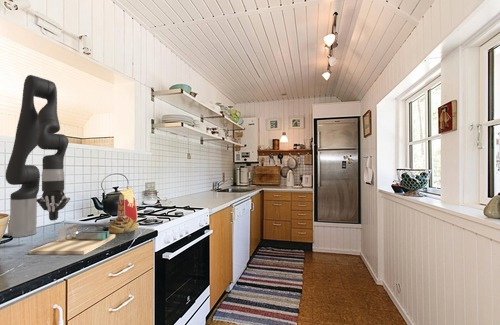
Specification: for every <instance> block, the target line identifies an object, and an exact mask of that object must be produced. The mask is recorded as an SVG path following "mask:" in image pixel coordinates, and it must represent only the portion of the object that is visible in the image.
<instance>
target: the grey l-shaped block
mask: <svg viewBox="0 0 500 325" xmlns="http://www.w3.org/2000/svg"><path fill="white" fill-rule="evenodd" d="M57 231H58V232H57V233H58V234H57V240H58V241H66V240H67V236H68V231H69V235H70V236H72V232H74V231H79V224H78V223H74V224H73V223H70V224H67V225H64V226H61V227H58V230H57Z"/></svg>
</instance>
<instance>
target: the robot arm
mask: <svg viewBox="0 0 500 325" xmlns="http://www.w3.org/2000/svg"><path fill="white" fill-rule="evenodd" d="M22 89H23V90H22V100H21V106H20V107H21V108H20V113H19V118H18V121H17V126H16V131H15V137H14V141H13V142H14V143H13V147H12V150H11V155H10V157H9V160H8V164H7V166H6V167H7V168H6V170H5V180H6V182H7V183H8V184H9V185H12V186H18V185H19V186H21V187H20V188H19V189H17V190H16V191H14V192H11V193H10V198H9V200H10V201H9V203H10V205H9V206H10V212H9V215H10V220H9V223H8V222H7V236H8V235H9V236H8V237H10V236H12V237H11V238H22V237H28V236H33V235H35V234H36V233H37V223H38V222H37V220H38V219H37V218H38V216H37V214H38V212H37V211H38V210H37V209H38V208H37V207H38V205H39V206H40V208H42V210H43V211H47V212H48V219H49V220H50V221H57V220H58V219H59V211H60V210H63V209H64V208H65V207H66V205H68V203H69V201H70V200H71V198H70V197H67V196H65V195H66V194H65V171H64V170H65V169H64V159H65V155H66V151H67V148H68V146H69V141H70V140H69V138H68V136H66V135H65V134H62V133H58V132H60V130H61V125H60V121H59V116H58V90H57V85H56V84H55V82H53V81H51V80H49V79H45V78H42V77H40V76H36V75H32V74H28V75H27V76H26V77H25V79H24V82H23V88H22ZM35 97H36V98H40V99H42V100H46V101H47V102H46V103H45V104H44V106H42V107H41V109H39V112H38V111H37V109H36V107H35V103H34V102H35V101H34V98H35ZM36 147H38V148H39V149H41V150H44V151H45V150H46V151H47V150H51V151H52V150H53V151H56V153H54V154H49V155H48V154H47V155H45V156H44V155H43V157H42V172H41V174H40V169H39V168H38V167H37V166H36V165H34V164H29V165H28V164H26V162H27V159H28V157H29V155H30V153H32V152H33V150H34V149H35V148H36ZM40 179H41V180H40ZM40 181H41V192H42V195H41V197H39V198H38V194H39V192H40Z"/></svg>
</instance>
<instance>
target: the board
mask: <svg viewBox="0 0 500 325" xmlns="http://www.w3.org/2000/svg"><path fill="white" fill-rule="evenodd" d="M114 239H116V234H109V237H108V238H106V239H104V240H92V239H75V240H72V236H70V234H69V235H68V234H67V240H66V241H58V239H56V240H53V241H51V242H48V243H45V244H43V245H41V246H38V247H36V248H34V249H30V250H29V251H28V252H29V253H28V254H29V255H66V256H67V255H86V254H88V253H90V252H92V251H93V250H95V249H97V248H100V247H101V246H103V245H105V244H106V243H108V242H111V240H114Z"/></svg>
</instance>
